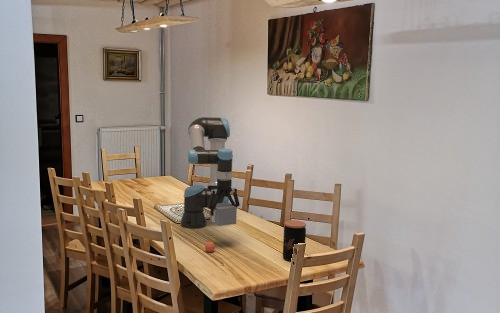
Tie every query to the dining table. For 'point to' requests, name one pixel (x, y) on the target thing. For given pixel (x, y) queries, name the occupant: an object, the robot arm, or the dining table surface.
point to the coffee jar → (293, 237)
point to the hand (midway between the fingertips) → (223, 220)
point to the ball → (210, 246)
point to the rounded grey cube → (224, 214)
